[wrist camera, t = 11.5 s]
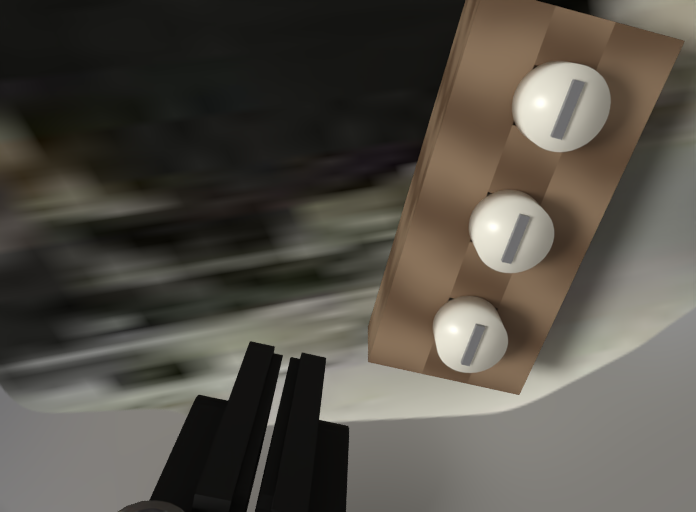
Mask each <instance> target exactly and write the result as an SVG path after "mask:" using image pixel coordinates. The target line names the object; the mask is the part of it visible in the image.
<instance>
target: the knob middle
mask: <svg viewBox="0 0 696 512" xmlns="http://www.w3.org/2000/svg"><path fill="white" fill-rule="evenodd" d="M469 235H470V238H471V240H472V242H473V244H474V246H475V248H476V251H477V253H478V255H479V257H480V258H481V260H482V261H483V262H484V263H485V264H486V265H487V266H488V267H490V268H492V269H494V270H496V271H499V272H503V273H518V272H522V271H525V270H528V269H530V268H532V267H534V266H535V265H537V264H538V263H539V262H541V261H542V260H543V259H544V258H545V256H546V255H547V254H548V252H549V251H550V249H551V246H552V244H553V240H554V227H553V223H552V220H551V218H550V217H549V215H548V214H547V213H546V212H545V210H544V209H543V208H542V207H541V206H540V205H539V204H538V203H537V202H536V201H535V200H534V199H533V198H532V197H531V196H529V195H528V194H526V193H524V192H521V191H518V190H501V191H497V192H494V193H490V192H488V193H487V196H486V197H485V198H484V199H482V200H481V201H480V202H479V203H478V204H477V206H476V207H475V208H474V210H473V212H472V214H471V216H470V220H469Z"/></svg>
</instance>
